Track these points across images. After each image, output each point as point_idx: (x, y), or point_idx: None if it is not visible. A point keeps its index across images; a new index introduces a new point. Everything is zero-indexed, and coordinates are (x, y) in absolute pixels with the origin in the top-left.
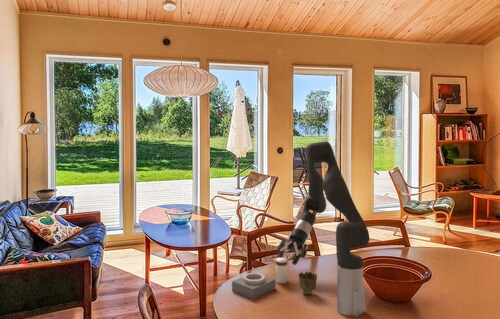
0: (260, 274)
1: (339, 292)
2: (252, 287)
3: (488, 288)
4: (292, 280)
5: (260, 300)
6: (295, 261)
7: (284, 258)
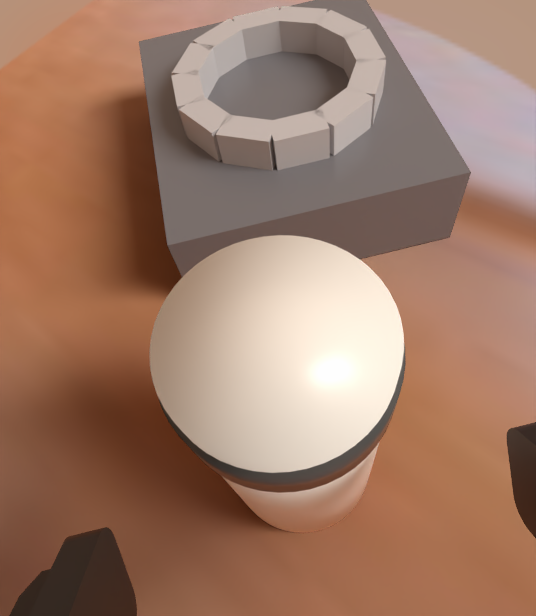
0: (291, 126)
1: None
2: (165, 46)
3: None
4: (244, 609)
5: (114, 130)
6: (31, 595)
7: (288, 429)
